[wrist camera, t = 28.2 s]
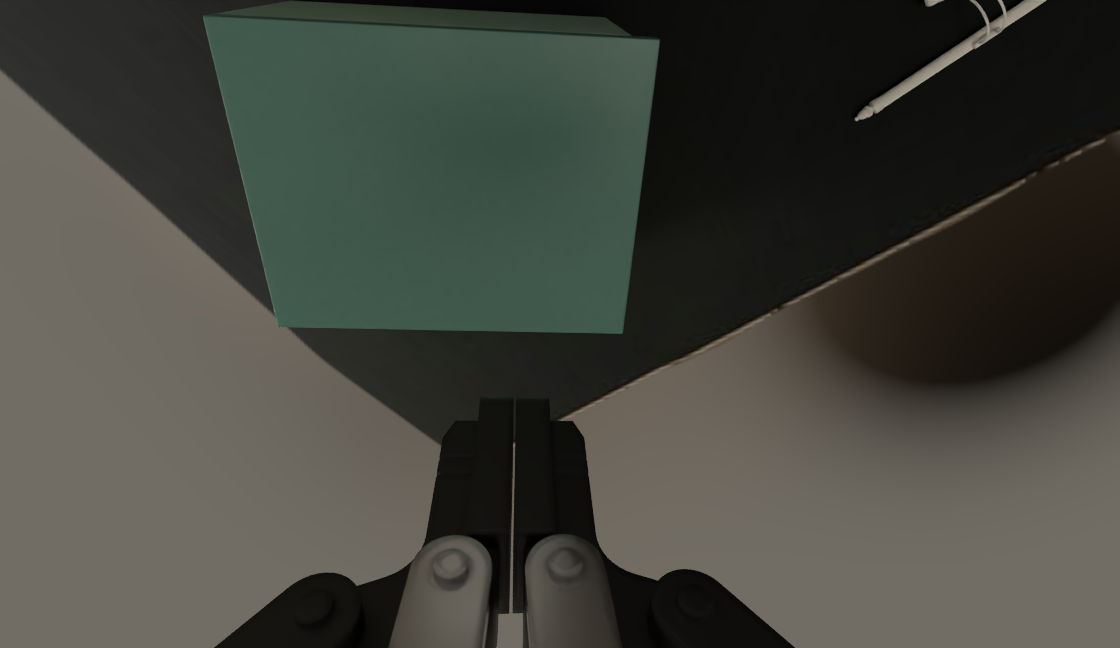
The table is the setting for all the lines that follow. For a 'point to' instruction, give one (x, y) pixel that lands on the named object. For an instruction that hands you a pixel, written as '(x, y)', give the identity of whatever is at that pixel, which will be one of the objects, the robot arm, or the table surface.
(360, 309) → the lid
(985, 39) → the picture light
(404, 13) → the storage box
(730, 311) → the table surface
